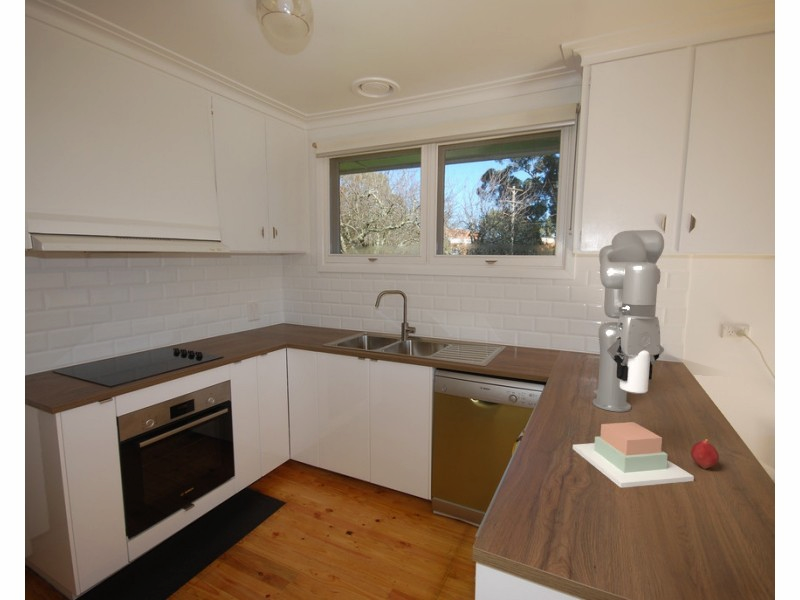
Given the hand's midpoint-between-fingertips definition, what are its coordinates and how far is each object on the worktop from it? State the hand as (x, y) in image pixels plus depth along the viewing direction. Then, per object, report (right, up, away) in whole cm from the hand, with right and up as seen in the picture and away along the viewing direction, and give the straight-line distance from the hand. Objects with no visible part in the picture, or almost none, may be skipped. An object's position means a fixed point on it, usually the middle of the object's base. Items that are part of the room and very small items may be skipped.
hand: (633, 378), depth 105 cm
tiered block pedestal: (0, -24, +2) cm, 24 cm away
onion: (+19, -24, 0) cm, 30 cm away
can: (0, -3, 0) cm, 3 cm away
